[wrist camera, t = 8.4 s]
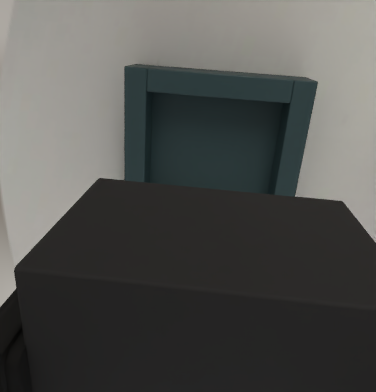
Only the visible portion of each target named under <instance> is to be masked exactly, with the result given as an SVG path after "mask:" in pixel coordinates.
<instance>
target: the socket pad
mask: <svg viewBox="0 0 376 392" xmlns="http://www.w3.org/2000/svg"><path fill="white" fill-rule="evenodd" d="M317 84H318V82H317V81H314V80H312V79H309V78H306V77H294V76H281V75H268V74H256V73H243V72H230V71H217V70H205V69H192V68H179V67H166V66H154V65H141V64H134V65H129V66H125V181H135V182H146V183H156V184H167V185H177V186H188V187H198V188H209V189H219V190H230V191H240V192H251V193H261V194H272V195H282V196H293V197H295V193H296V188H297V183H298V178H299V173H300V168H301V163H302V158H303V153H304V148H305V143H306V138H307V134H308V129H309V124H310V119H311V114H312V109H313V104H314V99H315V94H316V89H317Z"/></svg>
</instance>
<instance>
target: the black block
mask: <svg viewBox="0 0 376 392" xmlns="http://www.w3.org/2000/svg"><path fill="white" fill-rule="evenodd" d="M14 273H15V280H16V287H17V294H18V301H19V308H20V315H21V322H22V329H23V336H24V343H25V345H26V352H27V359H28V366H29V373H30V380H31V387H32V392H376V243H375V242H374V240H373V239H372V238H371V237H370V235H369V234H368V233H367V231H366V230H365V229H364V228H363V226H362V225H361V224H360V223H359V221H358V220H357V219H356V218H355V216H354V215H353V214H352V213H351V211H350V210H349V209H348V208H347V206H346V205H345V204H344V203H343V202H342V201H335V200H324V199H314V198H303V197H293V196H282V195H272V194H261V193H251V192H240V191H230V190H219V189H209V188H198V187H188V186H177V185H167V184H156V183H146V182H135V181H124V180H114V179H103V178H99V179H98V180H97V181H96V182H95V183H94V184H93V185H92V186H91V187H90V188H89V189H88V190H87V191H86V192H85V193H84V195H83V196H82V197H81V198H80V199H79V200H78V201H77V202H76V203H75V204H74V205H73V206H72V207H71V208H70V209H69V210H68V211H67V213H66V214H65V215H64V216H63V217H62V218H61V219H60V220H59V221H58V222H57V223H56V224H55V225H54V226H53V227H52V228H51V229H50V231H49V232H48V233H47V234H46V235H45V236H44V237H43V238H42V239H41V240H40V241H39V242H38V243H37V244H36V245H35V246H34V248H33V249H32V250H31V251H30V252H29V253H28V254H27V255H26V256H25V257H24V258H23V259H22V260H21V261H20V262H19V263H18V264H17V266H16V267H15V270H14Z"/></svg>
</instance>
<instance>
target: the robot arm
mask: <svg viewBox="0 0 376 392" xmlns="http://www.w3.org/2000/svg"><path fill="white" fill-rule="evenodd" d="M0 392H32V387H31V380H30V373H29V366H28V359H27V352H26V345H25V343H24V336H23V329H22V322H21V315H20V308H19V301H18V294H17V288H16V290H15V291H14V292H13V293H12V294H11V295H10V297H9V298H8V299H7V300H6V301H5V303H4V304H3V305H2V306H1V307H0Z"/></svg>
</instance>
